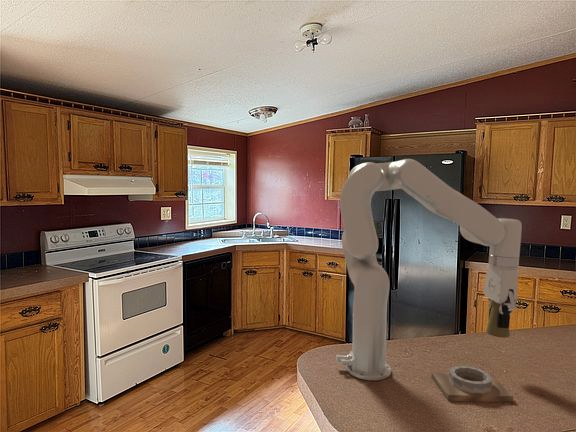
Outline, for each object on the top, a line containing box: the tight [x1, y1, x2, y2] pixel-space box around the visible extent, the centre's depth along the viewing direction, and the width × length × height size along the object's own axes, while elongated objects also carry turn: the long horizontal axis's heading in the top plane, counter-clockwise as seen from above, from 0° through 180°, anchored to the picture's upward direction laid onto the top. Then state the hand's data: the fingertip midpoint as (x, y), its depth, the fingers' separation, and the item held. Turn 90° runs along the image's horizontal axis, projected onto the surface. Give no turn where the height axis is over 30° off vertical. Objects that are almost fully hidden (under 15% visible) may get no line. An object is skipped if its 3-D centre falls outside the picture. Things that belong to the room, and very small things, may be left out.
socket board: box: [431, 365, 514, 403], centre depth 103 cm, size 16×12×4 cm
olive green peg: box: [485, 299, 511, 338], centre depth 112 cm, size 6×6×11 cm
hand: (498, 323), depth 113 cm, fingers closed on olive green peg, 4 cm apart
